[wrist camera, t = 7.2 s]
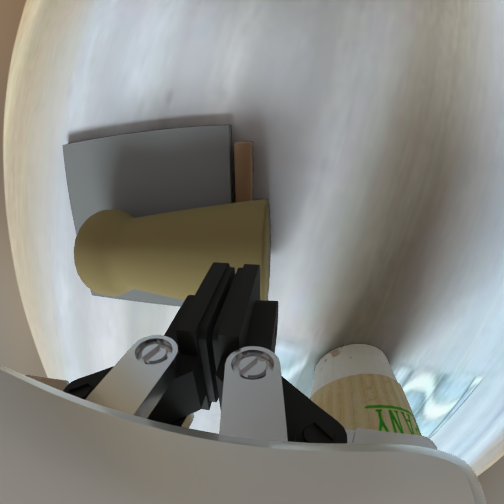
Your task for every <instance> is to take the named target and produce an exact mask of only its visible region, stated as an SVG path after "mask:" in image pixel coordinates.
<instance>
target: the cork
mask: <svg viewBox="0 0 504 504" xmlns="http://www.w3.org/2000/svg"><path fill="white" fill-rule="evenodd" d="M270 247H271V233H270V209H269V202H268V199H260V200H252V201H244V202H236V203H228V204H221V205H214V206H207V207H200V208H193V209H186V210H180V211H173V212H167V213H161V214H155V215H149V216H143V217H137V218H135V217H133V216H132V215H131V214H129V213H128V212H125V211H122V210H102V211H99V212H97V213H95V214H93V215H92V216H90V217H89V218H88V219H87V220H86V221H85V222H84V223H83V225H82V226H81V227H80V229H79V231H78V234H77V237H76V240H75V247H74V260H75V266H76V269H77V273H78V275H79V276H80V278H81V280H82V281H83V283H84V284H85V285H86V286H87V287H88V288H90V289H91V290H92V291H94V292H96V293H98V294H101V295H108V296H118V295H123V294H125V293H128V292H130V291H131V290H132V289H136V290H141V291H145V292H149V293H154V294H158V295H163V296H167V297H172V298H176V299H181V300H185V299H186V297H187V296H188V295H195V294H196V292H197V290H198V288H199V287H200V285H201V283H202V281H203V279H204V278H205V276H206V274H207V272H208V271H209V269H210V267H211V265H212V264H213V262H219V263H229V265H230V267H234V268H235V274H236V272H237V269H238V268H243V266H244V264H256V265H260V300H265V301H268V291H269V277H270Z"/></svg>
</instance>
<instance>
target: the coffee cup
mask: <svg viewBox="0 0 504 504" xmlns="http://www.w3.org/2000/svg"><path fill="white" fill-rule="evenodd" d="M310 400H311V401H313V402H314V403H315V404H316V405H318V406H319V407H320V408H321V409H323V410H324V411H325V412H327V413H328V414H329V415H330V416H332V417H333V418H334V419H336V420H337V421H338V422H339V423H340V424H341V425H342V426H343V427H344V429H349V430H355V431H356V428H357V427H358V428H365V429H371V430H378V431H386V432H394V433H403V434H413V435H420V436H422V435H421V433H420V430H419V428H418V425H417V423H416V420H415V418H414V415H413V413H412V410H411V408H410V405H409V403H408V401H407V398H406V396H405V394H404V391H403V389H402V387H401V385H400V384H399V383H398V382H397V380H396V378H395V375H394V373H393V371H392V368H391V366H390V364H389V362H388V359H387V357H386V356H385V354H384V353H383V352H382V351H381V350H380V349H378V348H376V347H374V346H371V345H366V344H351V345H345V346H342V347H339V348H336V349H334V350H332V351H330V352H329V353H327V354H326V355H324V356H323V357H322V358H321V359H320V360H319V362H318V363H317V365H316V367H315V370H314V377H313V383H312V390H311V397H310Z"/></svg>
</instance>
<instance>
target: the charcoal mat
mask: <svg viewBox="0 0 504 504" xmlns="http://www.w3.org/2000/svg"><path fill="white" fill-rule="evenodd" d="M63 153H64V162H65V171H66V178H67V185H68V192H69V198H70V204H71V209H72V215H73V220H74V225H75V230H76V234H78V231H79V229H80V227H81V226H82V225H83V223H84V222H85V221H86V220H87V219H88V218H89V217H90V216H92V215H93V214H95V213H97V212H99V211H102V210H122V211H125V212H128V213H129V214H131V215H132V216H133V217H135V218H137V217H143V216H149V215H155V214H161V213H167V212H173V211H180V210H186V209H193V208H200V207H207V206H214V205H221V204H228V203H233V179H232V146H231V125H214V126H197V127H184V128H172V129H162V130H153V131H144V132H136V133H129V134H122V135H115V136H109V137H103V138H97V139H91V140H86V141H80V142H75V143H70V144H66V145H63ZM90 290H91V289H90ZM91 293H92V295H94V296H101V297H108V298H115V299H123V300H130V301H138V302H146V303H154V304H163V305H172V306H182V304H183V302H184V301H185V300H181V299H176V298H172V297H167V296H163V295H158V294H154V293H149V292H145V291H141V290H136V289H132V290H131V291H130V292H128V293H125V294H123V295H118V296H108V295H101V294H98V293H96V292H94V291H92V290H91Z"/></svg>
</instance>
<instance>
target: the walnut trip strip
mask: <svg viewBox="0 0 504 504" xmlns="http://www.w3.org/2000/svg"><path fill="white" fill-rule="evenodd" d="M234 157H235V191H236V202H244V201H252V200H253V146H252V142H236V143H234Z"/></svg>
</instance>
